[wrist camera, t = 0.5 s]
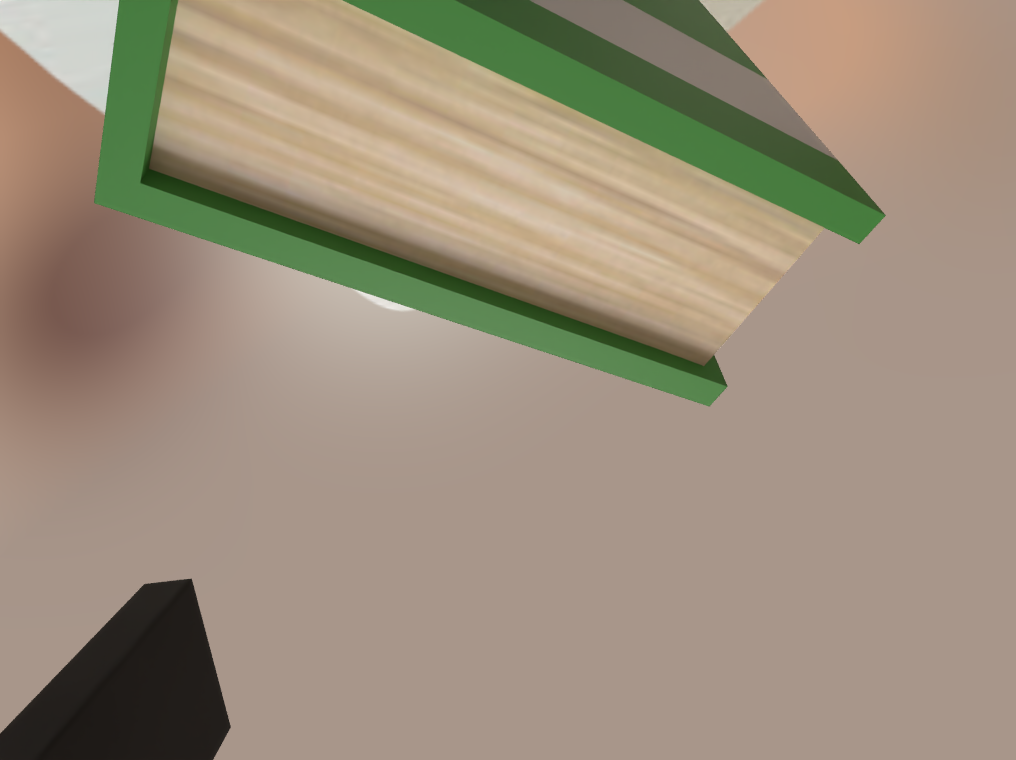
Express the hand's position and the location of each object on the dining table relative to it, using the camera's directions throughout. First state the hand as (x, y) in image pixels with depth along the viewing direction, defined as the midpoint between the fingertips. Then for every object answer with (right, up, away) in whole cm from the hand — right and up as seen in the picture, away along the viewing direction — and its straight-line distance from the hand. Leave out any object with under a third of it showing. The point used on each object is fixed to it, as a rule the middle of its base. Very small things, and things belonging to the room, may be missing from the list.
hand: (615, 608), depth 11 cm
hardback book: (-3, +24, +24) cm, 34 cm away
